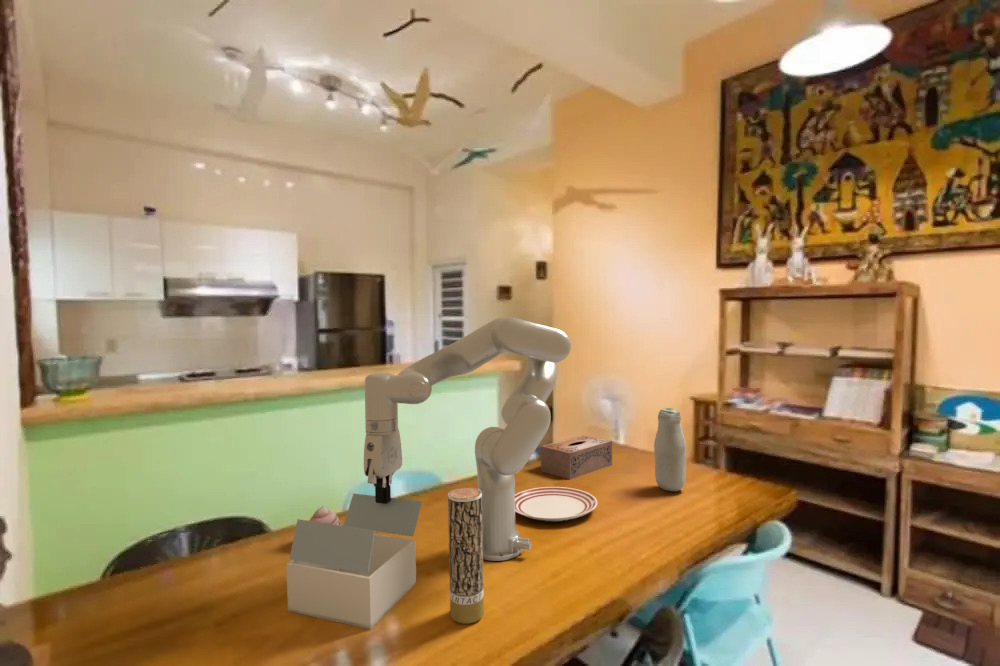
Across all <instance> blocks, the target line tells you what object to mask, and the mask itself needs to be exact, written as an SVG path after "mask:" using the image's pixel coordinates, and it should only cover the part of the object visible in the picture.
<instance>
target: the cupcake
mask: <svg viewBox="0 0 1000 666" xmlns="http://www.w3.org/2000/svg"><path fill="white" fill-rule="evenodd" d="M308 521H313V522H320V523H327V524H334V525H341V526H342V524H343V523H342V522H340V519H339V516H338V515H337V513H336V512H335V511H334V510H330V509H327V507H326V506H325V505H322V506H321V507H319V508H317V509H316V511H314V513H313V515H312V516H311V517H310V519H309V520H308Z"/></svg>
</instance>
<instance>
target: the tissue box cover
mask: <svg viewBox="0 0 1000 666" xmlns="http://www.w3.org/2000/svg"><path fill="white" fill-rule="evenodd" d="M612 465H613V441H612V440H609V439H606V438H600V437H595V436H590V435H584V434H582V435H579V436H575V437H571V438H567V439H563V440H559V441H556V442H552V443H548V444H544V445H541V446H540V466H541V467H540V471H541V472H543V473H545V474H546V473H547V474H550V475H554V476H556V477H559V478H563V479H567V480H573V479H575V478H578V477H581V476H584V475H587V474H591V473H594V472H596V471H599V470H602V469H605V468H608V467H611V466H612Z"/></svg>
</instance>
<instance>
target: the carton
mask: <svg viewBox="0 0 1000 666" xmlns="http://www.w3.org/2000/svg"><path fill="white" fill-rule="evenodd" d="M416 555H417V554H416V539H411V538H404V537H397V536H393V535H392V536H391V535H387V534H386V535H385V534H379V533H378V534H377V533H375V534H374V540H373V547H372V553H371V559H370V565H369V572H368V573H363V572H357V571H352V570H346V569H340V568H335V567H329V566H324V565H318V564H312V563H307V562H301V561H296V560H290V561H287V563H286V584H287V585H286V589H287V590H286V591H287V593H286V594H287V611H288V612H291V613H294V614H301V615H305V616H309V617H314V618H318V619H322V620H327V621H332V622H336V623H339V624H340V623H341V624H345V625H350V626H353V627H354V626H355V627H358V628H364V629H367V630H372V629H373V628H374V627H375V626H376V624H378V623H379V622H380V621H381V620H382V619H383V618H384V617H385V616H386V615H387V614H388V613H389V611H391V610H392V609H393V607H394V606H396V604H397V603H398V602H399V601H400V600H401V599H402V598H404V597H405V595H407V594H408V593H409V591H410V590H411V589H412V588H413V587H415V585H416V584H417V565H416V564H417V562H416V560H417V559H416Z"/></svg>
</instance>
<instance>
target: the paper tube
mask: <svg viewBox="0 0 1000 666" xmlns="http://www.w3.org/2000/svg"><path fill="white" fill-rule="evenodd" d="M447 506H448V507H447V511H448V512H447V516H448V517H447V518H448V561H449V562H448V563H449V565H448V566H449V569H448V571H449V572H448V573H449V610H450V612H449V613H450V617H451V618H452V619H451V620H453V621H454V622H456V623H459V624H462V625H467V624H473V623H476V622H478V621H480V620H481V619H482V617H483V616H484V614H485V613H484V612H485V603H484V597H485V595H484V593H485V591H484V589H485V588H484V587H485V586H484V559H483V526H482V492H481V491H480V490H479V489H478V488H475V487H458V488H454V489H451V490H450V491H449V492H448V493H447Z"/></svg>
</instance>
